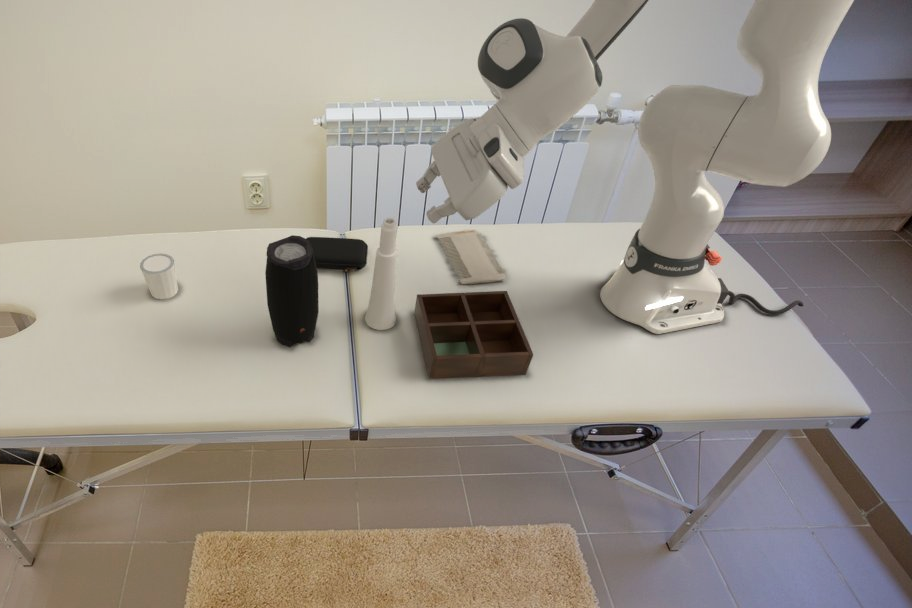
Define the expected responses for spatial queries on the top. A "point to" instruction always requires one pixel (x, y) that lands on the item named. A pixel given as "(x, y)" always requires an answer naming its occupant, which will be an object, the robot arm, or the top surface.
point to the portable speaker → (292, 290)
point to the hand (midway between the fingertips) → (423, 203)
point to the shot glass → (160, 275)
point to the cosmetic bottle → (384, 280)
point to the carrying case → (339, 253)
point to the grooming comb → (471, 257)
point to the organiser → (471, 335)
